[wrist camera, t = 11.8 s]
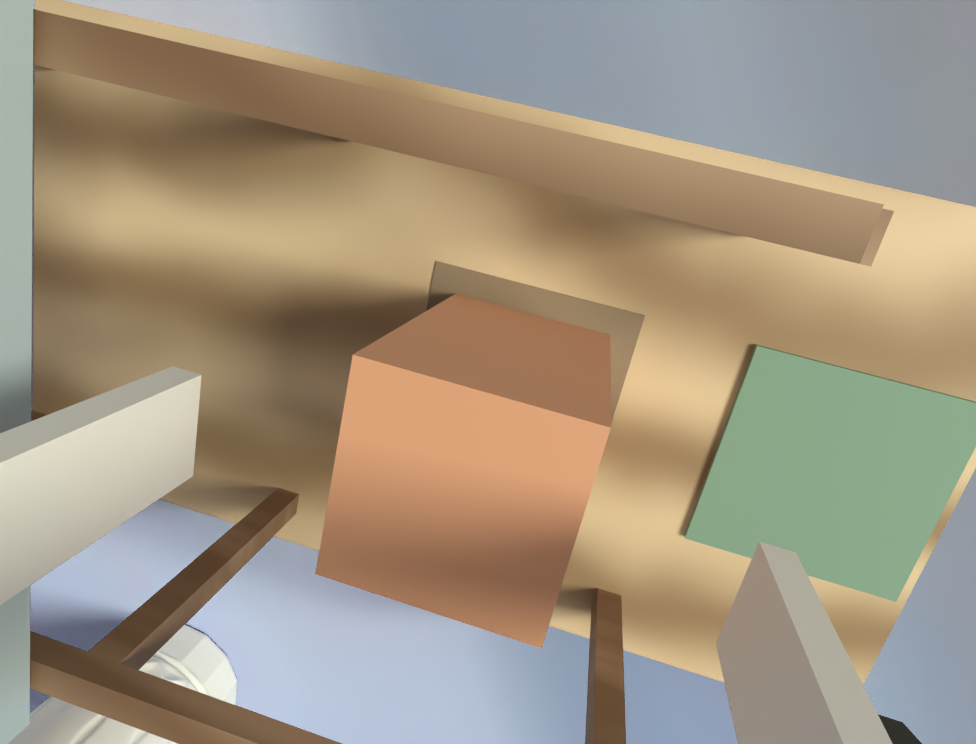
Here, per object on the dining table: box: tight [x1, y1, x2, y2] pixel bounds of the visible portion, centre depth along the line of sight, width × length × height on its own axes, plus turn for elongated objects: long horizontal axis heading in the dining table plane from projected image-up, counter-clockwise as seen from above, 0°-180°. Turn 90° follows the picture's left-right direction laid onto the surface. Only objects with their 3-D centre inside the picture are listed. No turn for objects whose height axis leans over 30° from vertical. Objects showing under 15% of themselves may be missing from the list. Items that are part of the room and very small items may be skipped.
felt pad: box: [684, 344, 976, 602], centre depth 23 cm, size 8×8×1 cm
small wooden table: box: [30, 0, 976, 744], centre depth 20 cm, size 20×38×13 cm, turn 77°
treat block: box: [316, 294, 611, 648], centre depth 19 cm, size 6×6×10 cm
